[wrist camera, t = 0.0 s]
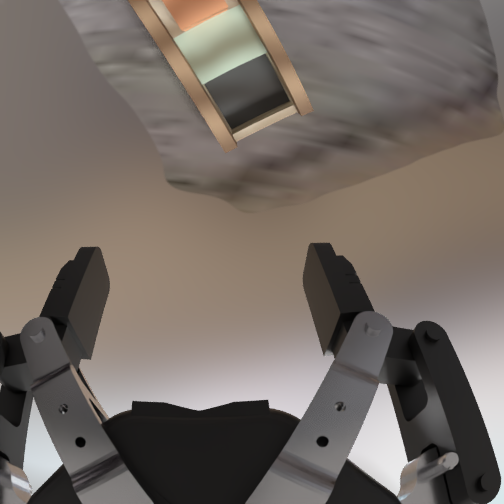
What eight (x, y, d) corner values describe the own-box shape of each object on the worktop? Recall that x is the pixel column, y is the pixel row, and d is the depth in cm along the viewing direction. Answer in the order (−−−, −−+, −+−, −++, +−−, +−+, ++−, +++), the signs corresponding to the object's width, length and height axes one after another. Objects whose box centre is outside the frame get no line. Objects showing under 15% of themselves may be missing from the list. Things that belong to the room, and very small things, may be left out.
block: (163, -2, 24) (156, -8, 21) (205, -24, 23) (203, -32, 20) (185, 31, 27) (181, 30, 24) (227, 10, 26) (228, 6, 23)
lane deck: (105, -42, 20) (92, -50, 17) (188, -87, 18) (185, -101, 15) (224, 141, 38) (225, 153, 34) (303, 102, 36) (313, 110, 32)
